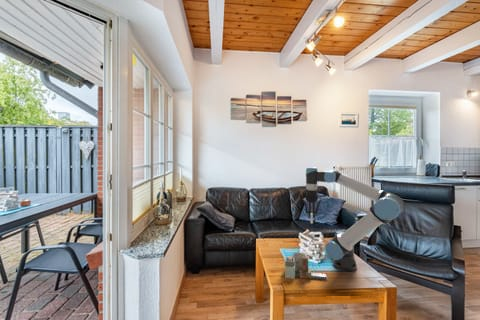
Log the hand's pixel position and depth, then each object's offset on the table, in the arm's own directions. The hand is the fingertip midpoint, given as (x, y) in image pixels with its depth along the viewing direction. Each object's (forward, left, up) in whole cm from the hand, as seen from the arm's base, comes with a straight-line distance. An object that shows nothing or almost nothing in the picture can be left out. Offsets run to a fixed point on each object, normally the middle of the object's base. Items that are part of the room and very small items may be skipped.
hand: (311, 222), depth 160 cm
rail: (+3, +18, -29) cm, 34 cm away
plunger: (+15, +17, -22) cm, 32 cm away
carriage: (+6, +18, -29) cm, 35 cm away
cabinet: (+15, +18, -29) cm, 37 cm away
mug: (+11, +10, -30) cm, 33 cm away
